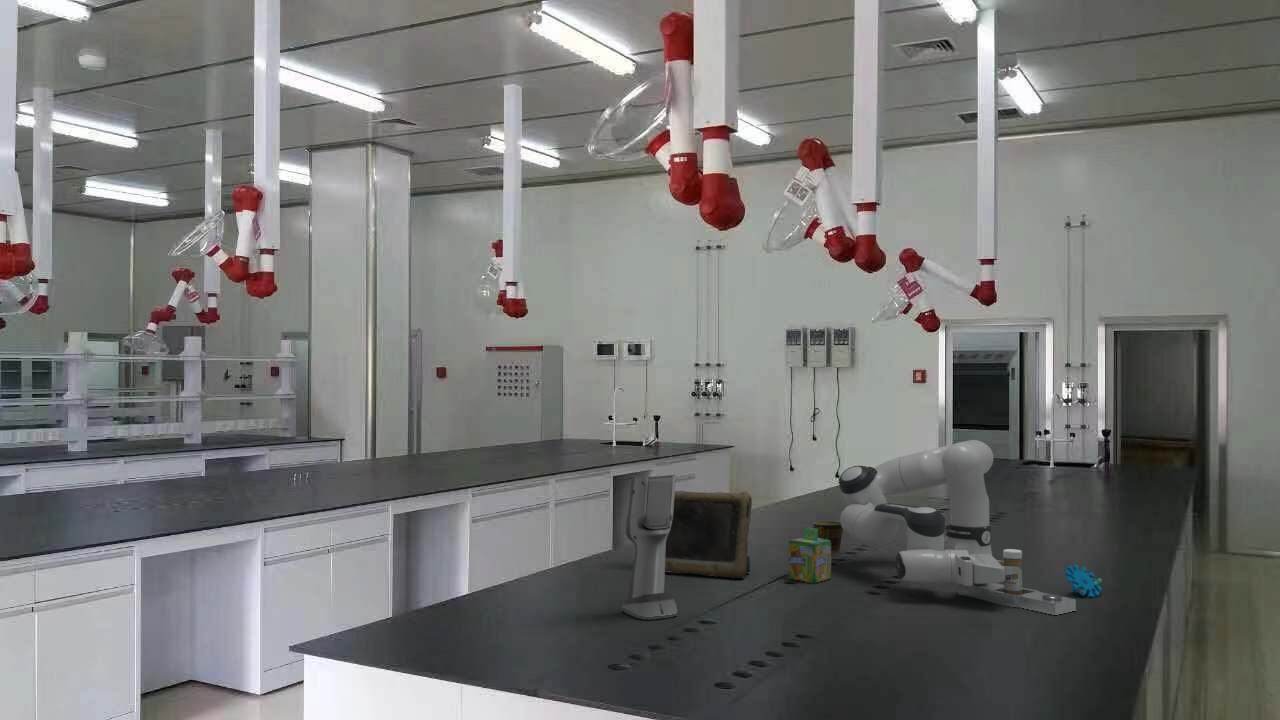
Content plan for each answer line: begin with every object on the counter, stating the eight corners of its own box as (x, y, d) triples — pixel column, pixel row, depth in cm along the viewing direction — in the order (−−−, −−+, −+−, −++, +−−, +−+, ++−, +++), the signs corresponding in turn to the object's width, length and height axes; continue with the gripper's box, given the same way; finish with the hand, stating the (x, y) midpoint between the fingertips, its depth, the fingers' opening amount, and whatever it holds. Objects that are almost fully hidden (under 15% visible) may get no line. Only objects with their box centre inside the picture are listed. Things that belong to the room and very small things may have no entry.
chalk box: (788, 580, 283) (787, 528, 283) (805, 575, 290) (804, 525, 290) (815, 584, 277) (814, 531, 277) (832, 579, 283) (831, 528, 284)
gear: (1078, 593, 253) (1061, 561, 260) (1065, 606, 257) (1049, 574, 264) (1112, 596, 256) (1095, 564, 263) (1099, 608, 260) (1083, 577, 267)
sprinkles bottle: (1001, 602, 251) (1000, 550, 251) (1008, 600, 254) (1007, 548, 255) (1019, 605, 248) (1017, 552, 248) (1025, 602, 251) (1024, 549, 252)
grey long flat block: (955, 594, 261) (955, 581, 261) (980, 590, 266) (979, 576, 266) (1053, 616, 236) (1052, 601, 236) (1078, 611, 241) (1077, 596, 241)
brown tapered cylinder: (821, 548, 333) (821, 519, 334) (848, 551, 328) (848, 521, 328) (804, 554, 323) (803, 524, 323) (832, 557, 317) (831, 526, 317)
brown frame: (639, 574, 294) (638, 491, 295) (655, 566, 307) (654, 486, 308) (744, 581, 282) (743, 494, 283) (756, 572, 295) (755, 489, 296)
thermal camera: (641, 622, 236) (639, 477, 237) (619, 611, 248) (617, 473, 248) (683, 616, 241) (681, 474, 242) (660, 606, 253) (658, 470, 253)
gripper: (955, 571, 264) (1009, 572, 261) (967, 587, 244) (1025, 588, 241) (955, 547, 264) (1009, 548, 261) (966, 562, 244) (1024, 562, 241)
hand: (1017, 567), depth 251 cm, fingers closed on sprinkles bottle, 4 cm apart
